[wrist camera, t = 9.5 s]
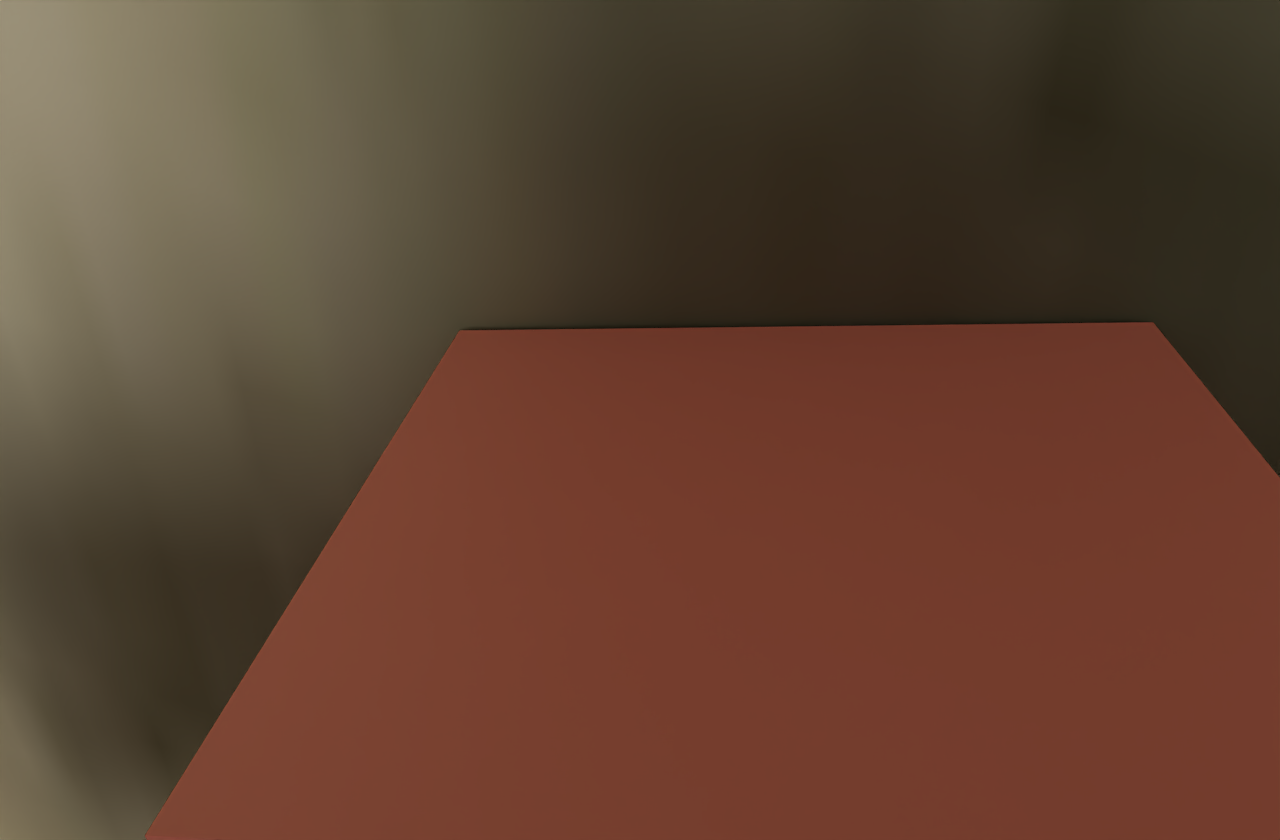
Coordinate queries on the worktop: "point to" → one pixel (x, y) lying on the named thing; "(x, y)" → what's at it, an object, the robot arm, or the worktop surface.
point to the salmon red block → (778, 601)
